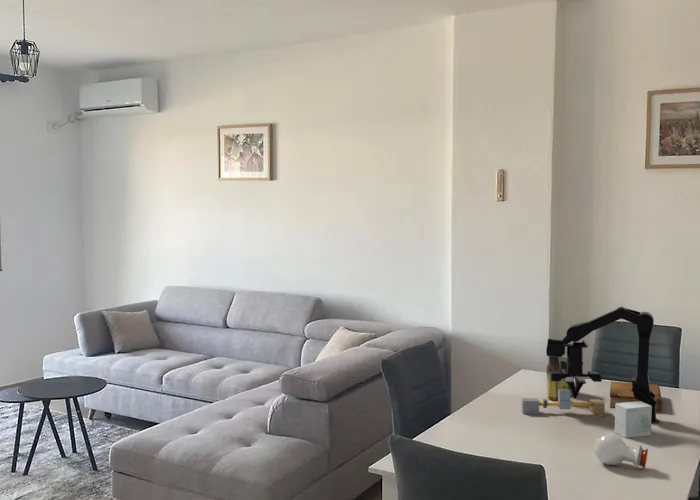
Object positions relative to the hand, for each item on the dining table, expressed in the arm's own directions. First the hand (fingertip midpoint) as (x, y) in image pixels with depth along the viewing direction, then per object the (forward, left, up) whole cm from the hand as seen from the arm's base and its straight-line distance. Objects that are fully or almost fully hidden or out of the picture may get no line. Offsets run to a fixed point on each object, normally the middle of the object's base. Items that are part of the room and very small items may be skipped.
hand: (574, 398), depth 260 cm
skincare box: (-24, -14, -6) cm, 29 cm away
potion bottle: (-54, -2, -6) cm, 54 cm away
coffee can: (+30, -1, -6) cm, 31 cm away
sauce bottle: (+19, +4, -6) cm, 20 cm away
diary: (+16, -27, -6) cm, 32 cm away
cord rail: (0, +4, -6) cm, 7 cm away
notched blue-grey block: (0, +4, -4) cm, 5 cm away
